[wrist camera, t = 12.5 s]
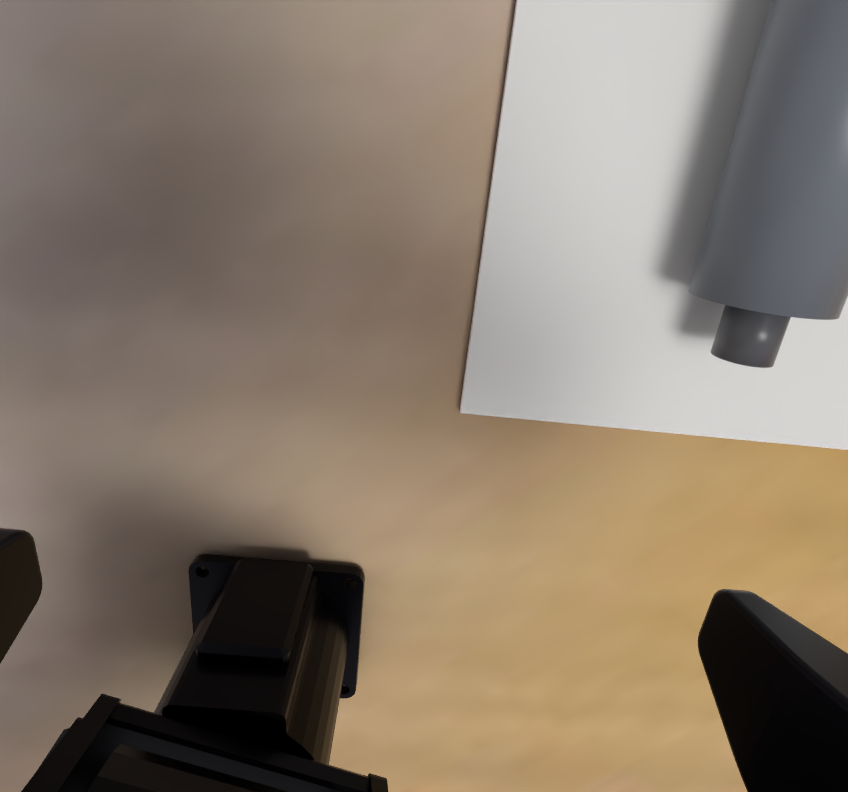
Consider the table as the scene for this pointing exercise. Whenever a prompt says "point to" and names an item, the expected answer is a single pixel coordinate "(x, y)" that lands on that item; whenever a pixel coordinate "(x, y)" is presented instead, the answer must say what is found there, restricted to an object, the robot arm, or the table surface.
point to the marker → (783, 188)
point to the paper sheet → (629, 233)
